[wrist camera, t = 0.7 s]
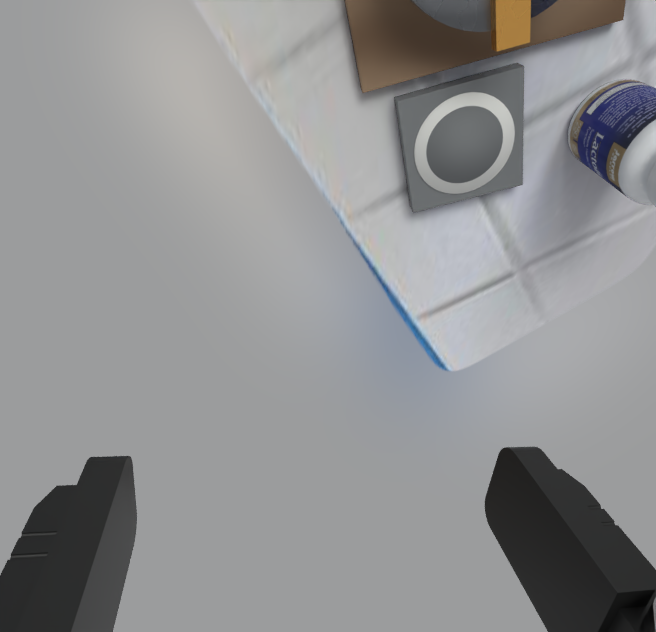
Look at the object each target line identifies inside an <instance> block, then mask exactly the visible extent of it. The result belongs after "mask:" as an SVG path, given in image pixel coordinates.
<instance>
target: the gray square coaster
mask: <svg viewBox="0 0 656 632" xmlns="http://www.w3.org/2000/svg"><path fill="white" fill-rule="evenodd" d="M394 98H395V105H396V112H397V119H398V126H399V132H400V139H401V146H402V153H403V160H404V167H405V173H406V180H407V187H408V194H409V201H410V207H411V209H412V211H413V213H415V212H419V211H423V210H427V209H431V208H435V207H438V206H442V205H446V204H450V203H454V202H458V201H462V200H466V199H469V198H473V197H477V196H481V195H485V194H489V193H493V192H497V191H500V190H504V189H508V188H512V187H516V186H520V185H522V184H523V105H524V66H522V65H521V64H519V63H516V64H512V65H508V66H505V67H501V68H498V69H494V70H490V71H487V72H483V73H480V74H476V75H473V76H469V77H465V78H462V79H458V80H455V81H451V82H447V83H444V84H440V85H437V86H433V87H429V88H426V89H422V90H419V91H415V92H412V93H408V94H404V95H401V96H397V97H394Z"/></svg>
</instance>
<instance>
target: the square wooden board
mask: <svg viewBox="0 0 656 632" xmlns="http://www.w3.org/2000/svg"><path fill="white" fill-rule="evenodd" d="M345 5H346V10H347V15H348V21H349V26H350V31H351V37H352V42H353V48H354V53H355V58H356V64H357V69H358V75H359V80H360V85H361V90H362V92H363V93H365V92H368V91H372V90H375V89H379V88H383V87H386V86H390V85H393V84H397V83H400V82H404V81H407V80H411V79H415V78H418V77H422V76H425V75H429V74H432V73H436V72H440V71H443V70H447V69H450V68H454V67H457V66H461V65H464V64H468V63H472V62H475V61H479V60H482V59H486V58H489V57H493V56H496V55H500V54H504V53H507V52H511V51H514V50H518V49H521V48H525V47H529V46H532V45H536V44H539V43H543V42H546V41H550V40H553V39H557V38H561V37H564V36H568V35H571V34H575V33H578V32H582V31H585V30H589V29H593V28H596V27H600V26H603V25H607V24H610V23H614V22H618V21H621V20H623V16H624V8H625V0H558V1H556V2H555V3H554V4H553V5H552V6H550V7H549V8H547V9H546V10H544V11H543V12H541V13H540V14H538V15H537V16H535V17H533V18H531V22H530V42H529V43H526V44H522V45H519V46H515V47H512V48H508V49H504V50H501V51H497V52H496V51H494V50H493V49H492V48H491V31H488V32H473V31H464V30H460V29H456V28H452V27H450V26H448V25H445V24H443V23H441V22H439V21H437V20H435V19H433V18H432V17H430V16H429V15H427V14H425V13H424V12H422V11H421V10H420V9H419V8H418V7H417V6H416V5H414V4H413V3H412V2H411V1H410V0H345Z"/></svg>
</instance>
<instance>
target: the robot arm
mask: <svg viewBox="0 0 656 632" xmlns="http://www.w3.org/2000/svg"><path fill="white" fill-rule="evenodd" d="M136 511H137V510H136V500H135V488H134V476H133V464H132V459H131V457H130V456H118V457H117V456H114V457H90V458H89V459H88V460H87V462H86V464H85V467H84V469H83V472H82V474H81V476H80V479H79V481H78V484H77V485H66V486H56V487H55V488H54V489H53V490H52V491H51V492H50V493H49V494H48V495H47V496H46V497H45V498H44V499H43V500H42V501H41V502H40V503H39V504H37V505H36V506H35V508H34V509H33V511H32V513H31V515H30V517H29V519H28V521H27V523H26V525H25V527H24V529H23V531H22V536H21V538H19V539H18V541H17V543H16V545H15V547H14V549H13V551H12V553H11V558H10V560H8V561H7V563H6V565H5V567H4V569H3V571H2V573H1V575H0V632H113V628H114V624H115V620H116V616H117V611H118V608H119V604H120V600H121V595H122V591H123V587H124V583H125V579H126V575H127V571H128V567H129V563H130V558H131V555H132V550H133V546H134V541H135V534H136V524H137V512H136ZM485 512H486V517H487V521H488V524H489V526H490V528H491V530H492V532H493V534H494V535H495V537H496V539H497V541H498V542H499V544H500V546H501V548H502V550H503V552H504V553H505V555H506V557H507V559H508V560H509V562H510V564H511V566H512V567H513V569H514V571H515V573H516V575H517V577H518V578H519V580H520V582H521V584H522V586H523V587H524V589H525V591H526V593H527V595H528V596H529V598H530V600H531V602H532V604H533V605H534V607H535V609H536V611H537V613H538V614H539V616H540V618H541V620H542V621H543V623H544V625H545V627H546V629H547V631H548V632H656V570H655V568H654V567H653V566H652V565H651V564H650V563H649V561H648V560H647V559H646V558H645V557H644V556H643V554H642V553H641V552H640V551H639V550H638V548H637V547H636V546H635V545H634V544H633V543H632V541H631V540H630V539H629V538H628V537H627V536H626V534H624V532H623V531H622V530H621V529H620V528H619V526H617V525H615V524H614V520H613V519H612V518H611V517H610V516H609V514H608V513H607V512H606V511H605V510H604V509H601V507H600V504H599V503H598V502H597V500H596V499H595V498H594V497H593V496H592V495H591V493H590V492H589V491H588V490H587V488H586V487H585V486H584V485H582V484H581V483H580V482H578V481H577V480H576V479H574V478H573V477H572V476H570V475H569V474H567V473H566V472H565V471H563V470H562V469H557V468H556V467H555V466H554V464H553V463H552V462H551V461H550V459H548V457H547V456H546V455H545V453H544V452H543V451H542V450H541V449H539V448H537V447H507V448H503V449H502V450H501V451H500V453H499V455H498V458H497V461H496V465H495V468H494V471H493V475H492V478H491V481H490V484H489V488H488V491H487V494H486V498H485Z"/></svg>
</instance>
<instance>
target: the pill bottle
mask: <svg viewBox="0 0 656 632" xmlns="http://www.w3.org/2000/svg"><path fill="white" fill-rule="evenodd" d="M568 143H569V147H570V150H571V152H572V153H573V155H574V156H575V157H576V158H577V159H578V160H579V161H581V162H582V163H583V164H585V165H586V166H587V167H589V168H590V169H591V170H593V171H594V172H595V173H597V174H598V175H599V176H601V177H602V178H603V179H604V180H606V181H607V182H608V183H610V184H611V185H612V186H614V187H615V188H616V189H617V190H619V191H620V192H621V193H623V194H624V195H625V196H627V197H628V198H630V199H631V200H633V201H635V202H638V203H641V204H645V205H654V206H656V88H653V87H651V86H649V85H646V84H644V83H642V82H639V81H635V80H631V79H622V80H616V81H612V82H610V83H607V84H605V85H603V86H601V87H599V88H598V89H596V90H595V91H593V92H592V93H591V94H590V95H589V96H588V97H587V98H586V99H585V100H584V101H583V102H582V103H581V104H580V106H579V107H578V108H577V110H576V112H575V113H574V115H573V117H572V120H571V122H570V126H569V130H568Z"/></svg>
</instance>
